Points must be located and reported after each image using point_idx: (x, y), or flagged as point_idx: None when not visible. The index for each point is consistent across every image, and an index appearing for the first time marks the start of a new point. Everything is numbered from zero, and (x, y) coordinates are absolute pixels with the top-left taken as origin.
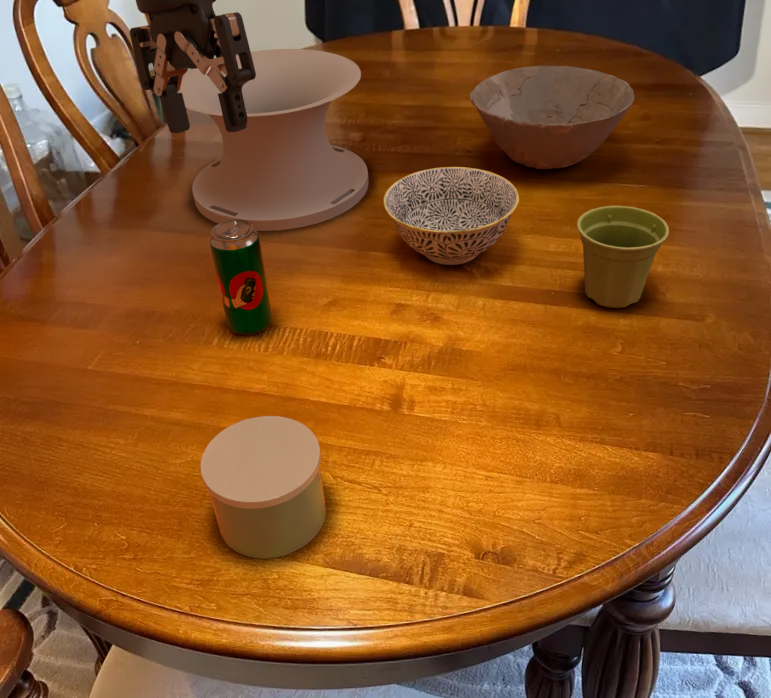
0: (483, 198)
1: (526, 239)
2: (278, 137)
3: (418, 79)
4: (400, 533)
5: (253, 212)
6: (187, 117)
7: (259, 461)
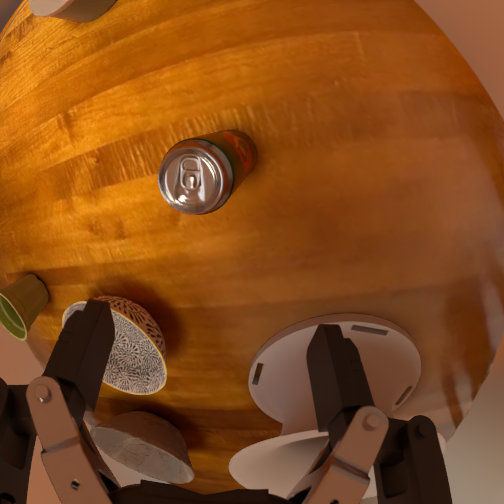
0: (119, 367)
1: None
2: (308, 417)
3: None
4: (35, 34)
5: None
6: (309, 375)
7: None
